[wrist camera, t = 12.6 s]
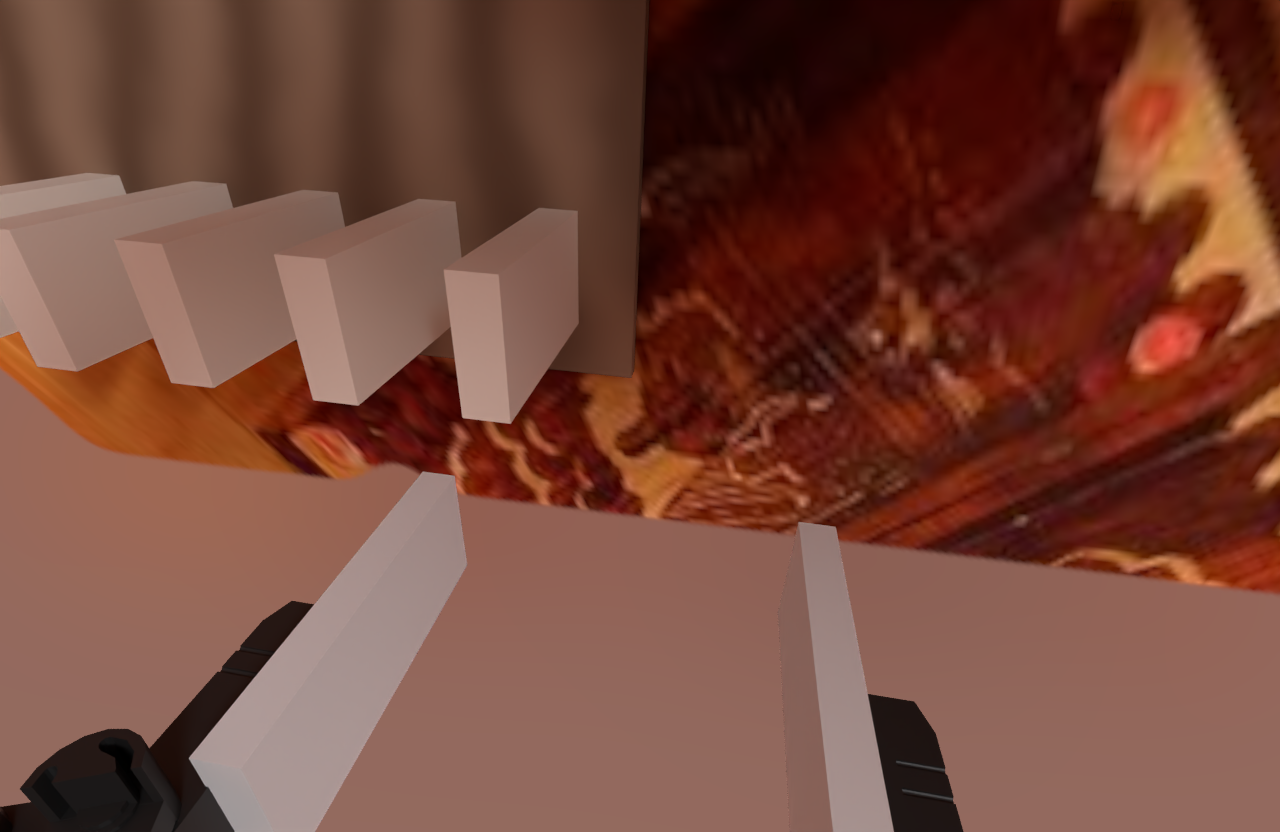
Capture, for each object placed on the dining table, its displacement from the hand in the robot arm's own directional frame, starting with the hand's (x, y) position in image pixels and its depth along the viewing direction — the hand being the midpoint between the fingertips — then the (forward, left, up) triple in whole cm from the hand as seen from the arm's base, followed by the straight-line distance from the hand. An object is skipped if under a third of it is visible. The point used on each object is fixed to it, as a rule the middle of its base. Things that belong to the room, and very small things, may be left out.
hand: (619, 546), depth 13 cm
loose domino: (+7, 0, -20) cm, 21 cm away
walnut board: (+23, -4, -21) cm, 32 cm away
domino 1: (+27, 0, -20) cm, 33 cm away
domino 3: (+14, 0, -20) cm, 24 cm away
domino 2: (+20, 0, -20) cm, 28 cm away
